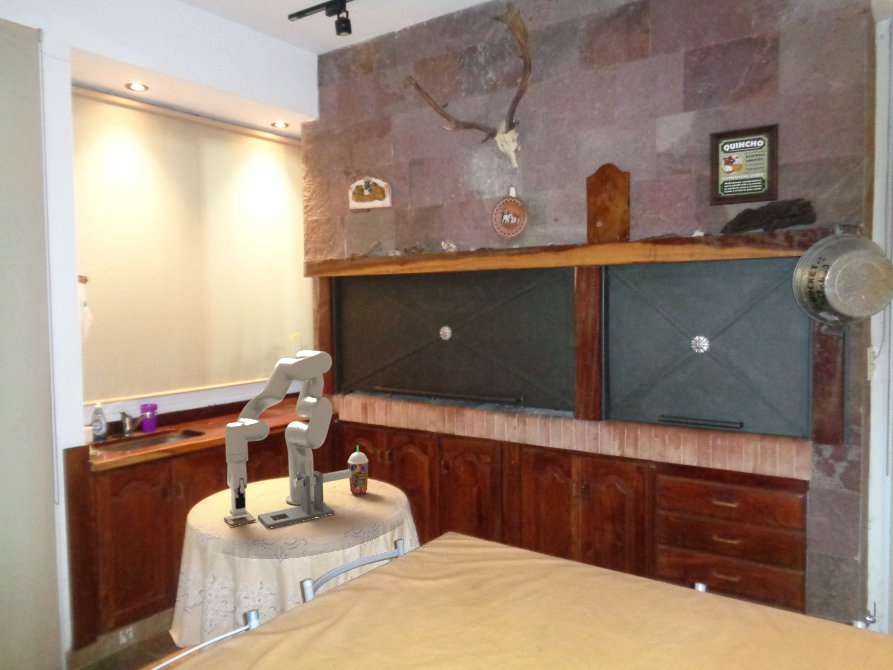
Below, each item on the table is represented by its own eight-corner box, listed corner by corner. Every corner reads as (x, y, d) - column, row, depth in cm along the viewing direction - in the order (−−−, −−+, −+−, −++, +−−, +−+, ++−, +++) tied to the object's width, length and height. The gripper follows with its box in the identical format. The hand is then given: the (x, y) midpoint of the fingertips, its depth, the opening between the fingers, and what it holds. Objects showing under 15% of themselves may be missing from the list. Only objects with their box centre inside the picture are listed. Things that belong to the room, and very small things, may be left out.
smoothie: (360, 497, 259) (358, 448, 258) (344, 494, 263) (342, 446, 262) (373, 492, 266) (372, 444, 265) (357, 489, 271) (356, 442, 269)
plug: (229, 512, 236) (229, 484, 236) (243, 510, 239) (243, 482, 238) (233, 516, 232) (233, 488, 231) (247, 514, 235) (247, 486, 234)
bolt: (293, 486, 238) (293, 472, 238) (348, 475, 250) (348, 463, 250) (296, 487, 236) (295, 474, 236) (351, 477, 248) (351, 464, 248)
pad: (224, 519, 237) (224, 517, 237) (248, 514, 242) (248, 512, 242) (230, 527, 230) (230, 524, 230) (255, 521, 235) (255, 519, 234)
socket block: (257, 518, 237) (256, 477, 236) (322, 505, 251) (320, 466, 250) (267, 528, 227) (266, 486, 226) (334, 514, 241) (333, 473, 240)
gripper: (220, 453, 239) (222, 502, 240) (232, 463, 225) (234, 515, 226) (241, 450, 243) (242, 498, 244) (254, 460, 229) (255, 510, 230)
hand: (238, 505), depth 235 cm, fingers closed on plug, 4 cm apart
